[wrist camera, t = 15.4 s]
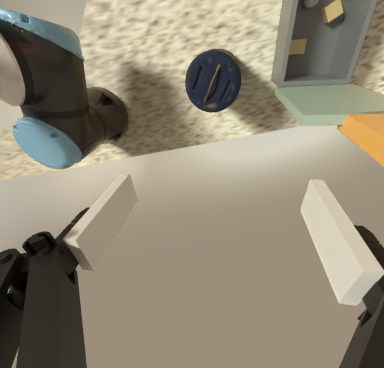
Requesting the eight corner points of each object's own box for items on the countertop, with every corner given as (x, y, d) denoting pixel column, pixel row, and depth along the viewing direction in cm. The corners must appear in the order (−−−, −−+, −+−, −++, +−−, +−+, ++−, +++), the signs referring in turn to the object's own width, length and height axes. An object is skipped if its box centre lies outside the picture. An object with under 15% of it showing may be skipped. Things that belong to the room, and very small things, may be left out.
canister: (248, 68, 44) (255, 78, 30) (221, 103, 49) (216, 126, 35) (215, 37, 42) (206, 33, 28) (190, 78, 47) (171, 92, 33)
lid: (275, 87, 38) (273, 98, 39) (348, 160, 14) (338, 183, 15) (351, 83, 35) (347, 95, 36) (592, 164, 12) (559, 191, 13)
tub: (271, 80, 45) (278, 86, 38) (287, -35, 35) (302, -56, 27) (329, 77, 43) (348, 83, 35) (364, -46, 32) (402, -72, 25)
